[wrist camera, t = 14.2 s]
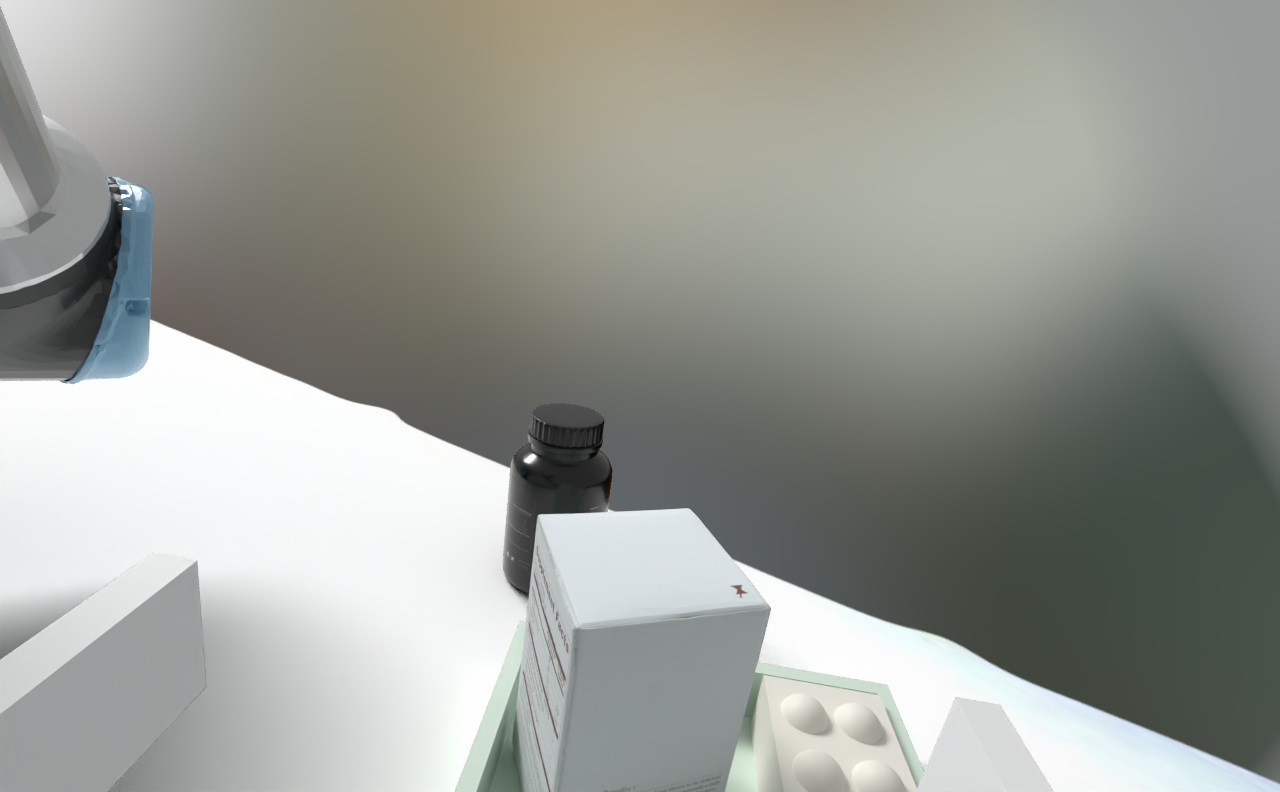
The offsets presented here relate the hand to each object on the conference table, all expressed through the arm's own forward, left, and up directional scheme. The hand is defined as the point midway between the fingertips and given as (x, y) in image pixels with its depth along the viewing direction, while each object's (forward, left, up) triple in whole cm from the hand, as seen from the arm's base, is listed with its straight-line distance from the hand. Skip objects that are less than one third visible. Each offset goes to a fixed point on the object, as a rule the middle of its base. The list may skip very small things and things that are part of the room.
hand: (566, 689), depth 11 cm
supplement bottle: (-4, +29, -18) cm, 35 cm away
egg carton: (+12, +12, -18) cm, 25 cm away
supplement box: (+2, +12, -17) cm, 21 cm away
